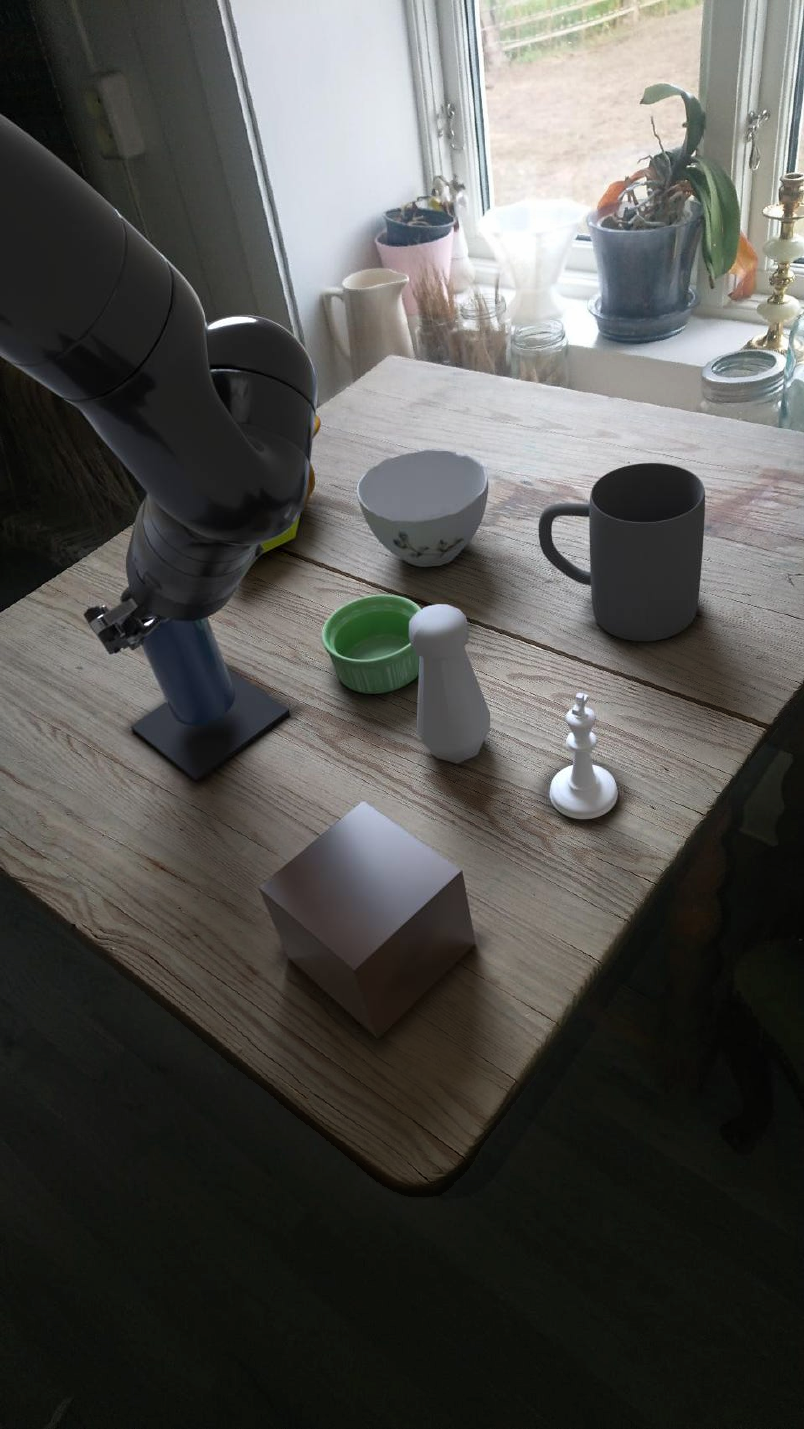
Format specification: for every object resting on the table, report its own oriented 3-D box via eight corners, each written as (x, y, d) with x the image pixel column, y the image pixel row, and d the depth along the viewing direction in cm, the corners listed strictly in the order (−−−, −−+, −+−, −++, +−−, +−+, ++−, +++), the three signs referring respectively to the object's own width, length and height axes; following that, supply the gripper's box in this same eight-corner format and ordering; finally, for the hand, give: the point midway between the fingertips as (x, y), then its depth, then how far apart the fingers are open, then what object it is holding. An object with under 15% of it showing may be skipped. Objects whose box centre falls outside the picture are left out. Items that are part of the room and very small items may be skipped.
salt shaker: (422, 721, 80) (397, 595, 71) (492, 715, 79) (476, 587, 70) (420, 774, 76) (394, 647, 67) (494, 768, 75) (477, 639, 66)
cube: (378, 1039, 60) (354, 971, 55) (287, 957, 66) (257, 887, 60) (476, 943, 64) (462, 870, 59) (383, 872, 70) (363, 799, 64)
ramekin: (440, 633, 88) (434, 594, 85) (420, 702, 82) (413, 663, 79) (346, 630, 90) (336, 593, 87) (319, 698, 84) (308, 659, 81)
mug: (705, 583, 87) (714, 464, 79) (690, 649, 81) (697, 528, 73) (555, 570, 92) (548, 456, 84) (530, 632, 86) (521, 516, 78)
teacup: (483, 590, 91) (475, 518, 86) (356, 588, 95) (340, 518, 89) (507, 501, 101) (501, 431, 96) (392, 502, 105) (379, 435, 99)
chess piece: (628, 781, 72) (629, 682, 65) (600, 828, 69) (598, 730, 63) (567, 761, 74) (562, 663, 68) (538, 806, 72) (529, 709, 65)
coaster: (197, 782, 79) (195, 779, 79) (131, 729, 85) (130, 726, 85) (290, 712, 83) (289, 709, 83) (222, 667, 89) (220, 663, 89)
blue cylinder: (196, 735, 80) (146, 621, 71) (158, 707, 83) (107, 594, 75) (248, 697, 82) (207, 582, 74) (210, 671, 85) (166, 558, 77)
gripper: (249, 449, 65) (209, 537, 81) (58, 551, 59) (54, 624, 75) (313, 543, 65) (260, 612, 81) (129, 653, 60) (110, 705, 75)
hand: (161, 618), depth 78 cm, fingers closed on blue cylinder, 5 cm apart
